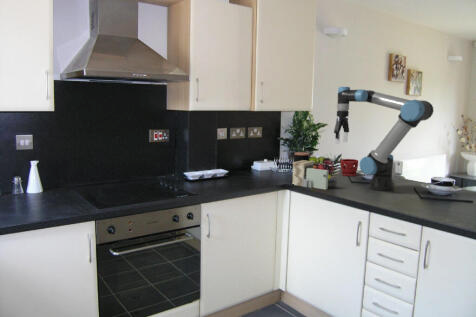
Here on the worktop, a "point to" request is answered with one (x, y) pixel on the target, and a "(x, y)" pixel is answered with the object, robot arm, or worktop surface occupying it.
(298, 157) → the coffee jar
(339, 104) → the robot arm
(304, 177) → the hinge clips
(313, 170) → the cabinet door
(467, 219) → the worktop surface
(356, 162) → the plant pot
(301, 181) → the cabinet
